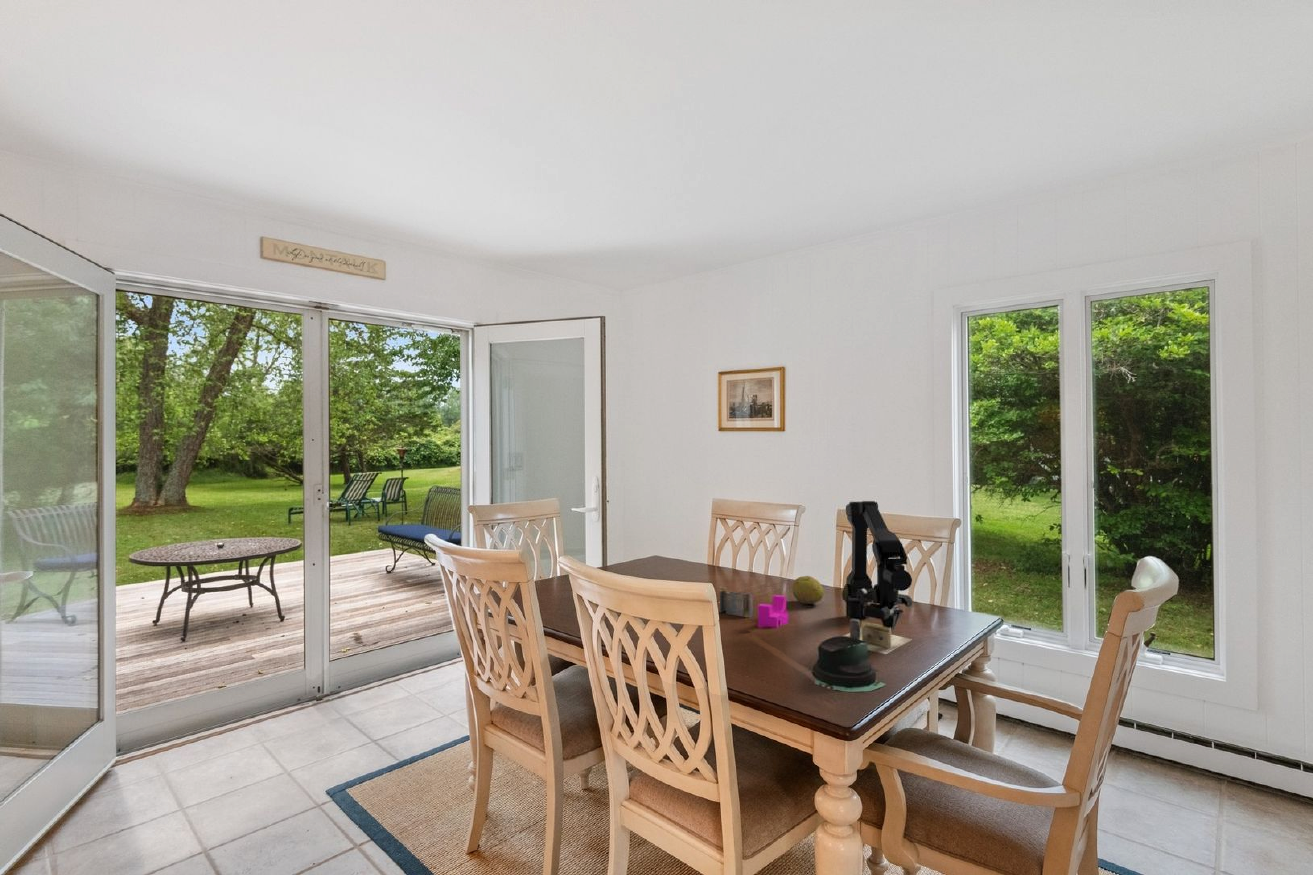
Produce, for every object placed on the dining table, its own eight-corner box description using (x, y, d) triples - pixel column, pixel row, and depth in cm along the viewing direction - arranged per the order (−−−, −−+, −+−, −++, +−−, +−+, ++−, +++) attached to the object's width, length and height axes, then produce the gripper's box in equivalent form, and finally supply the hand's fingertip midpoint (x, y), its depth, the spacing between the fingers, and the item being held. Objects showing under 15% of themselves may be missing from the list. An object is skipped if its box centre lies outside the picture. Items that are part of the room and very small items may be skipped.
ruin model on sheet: (719, 614, 211) (719, 586, 211) (723, 612, 214) (722, 584, 214) (749, 619, 205) (749, 590, 205) (753, 616, 208) (752, 588, 208)
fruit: (793, 607, 217) (792, 579, 217) (791, 599, 228) (791, 572, 228) (825, 609, 215) (825, 580, 215) (821, 600, 227) (821, 573, 227)
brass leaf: (861, 639, 178) (861, 621, 178) (863, 638, 179) (863, 620, 179) (889, 646, 172) (889, 628, 172) (891, 645, 172) (891, 627, 172)
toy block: (776, 631, 191) (776, 608, 191) (758, 628, 194) (758, 605, 194) (793, 619, 204) (793, 597, 204) (775, 616, 207) (775, 594, 207)
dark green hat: (819, 657, 169) (819, 623, 169) (894, 672, 158) (894, 636, 158) (792, 681, 153) (792, 644, 153) (873, 699, 141) (873, 660, 141)
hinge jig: (833, 644, 178) (833, 621, 178) (861, 631, 190) (861, 609, 190) (885, 658, 167) (885, 633, 167) (912, 643, 178) (912, 620, 178)
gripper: (876, 571, 187) (877, 621, 187) (845, 583, 174) (846, 637, 174) (912, 577, 179) (913, 629, 179) (883, 589, 166) (884, 646, 166)
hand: (888, 635), depth 175 cm, fingers closed
